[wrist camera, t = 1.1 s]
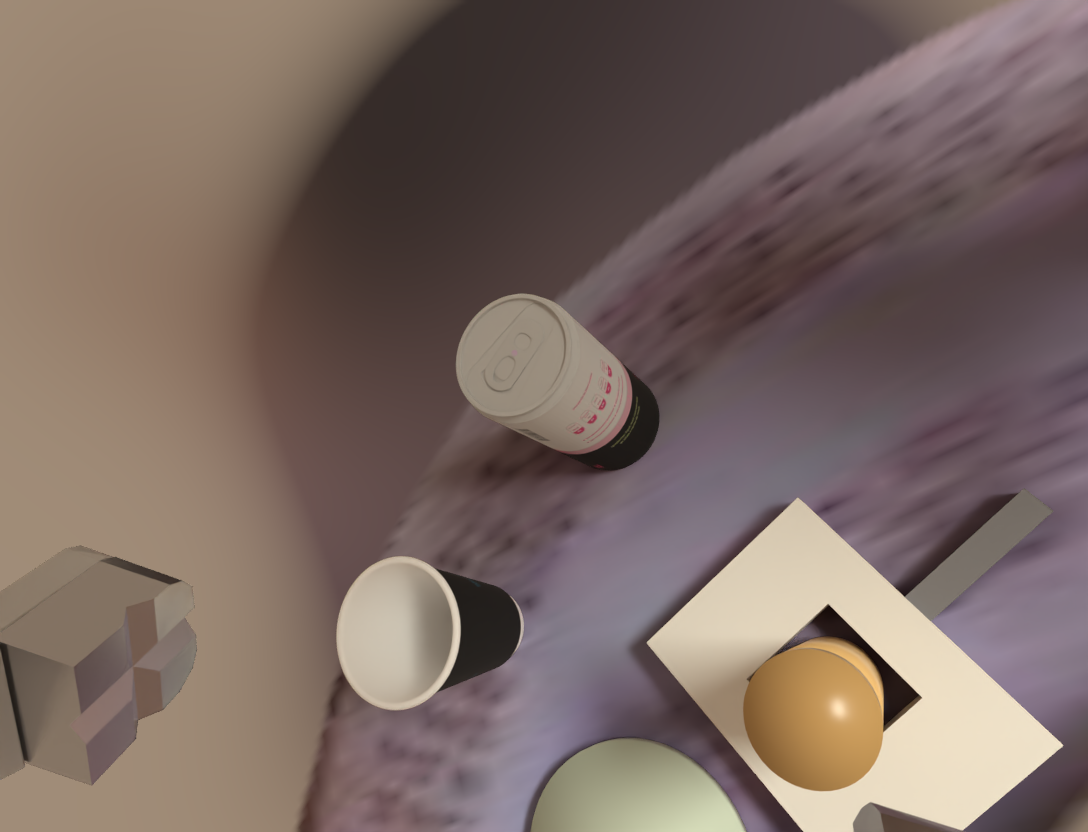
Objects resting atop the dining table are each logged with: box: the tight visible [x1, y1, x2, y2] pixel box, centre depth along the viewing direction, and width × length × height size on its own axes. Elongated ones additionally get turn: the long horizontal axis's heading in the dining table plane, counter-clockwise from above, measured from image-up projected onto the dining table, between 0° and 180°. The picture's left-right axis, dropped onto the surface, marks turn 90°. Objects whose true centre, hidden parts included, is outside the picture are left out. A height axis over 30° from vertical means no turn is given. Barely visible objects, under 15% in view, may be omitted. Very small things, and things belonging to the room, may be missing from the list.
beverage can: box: [456, 294, 659, 470], centre depth 42 cm, size 7×7×15 cm
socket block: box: [647, 489, 1063, 832], centre depth 38 cm, size 16×20×2 cm
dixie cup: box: [336, 556, 524, 710], centre depth 44 cm, size 8×8×11 cm
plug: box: [743, 636, 884, 791], centre depth 34 cm, size 5×5×14 cm
